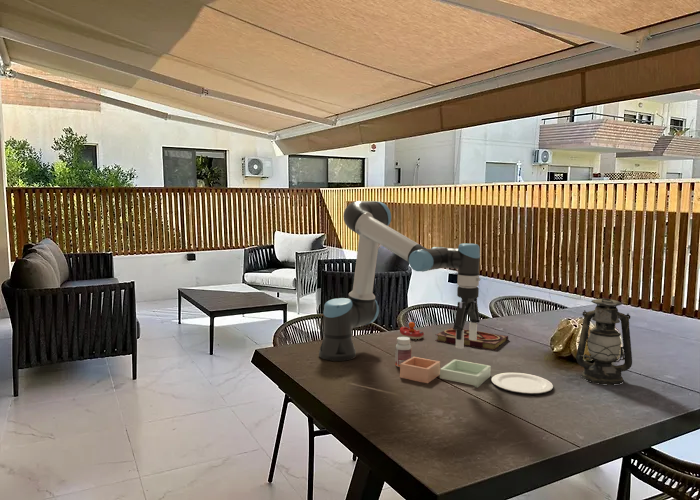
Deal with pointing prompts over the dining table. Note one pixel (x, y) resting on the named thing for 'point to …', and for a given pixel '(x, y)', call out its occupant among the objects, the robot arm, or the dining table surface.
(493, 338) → the book
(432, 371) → the orange open box
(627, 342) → the lantern
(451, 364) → the green tray
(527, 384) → the plate
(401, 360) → the pill bottle
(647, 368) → the dining table surface
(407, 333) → the toy boat
